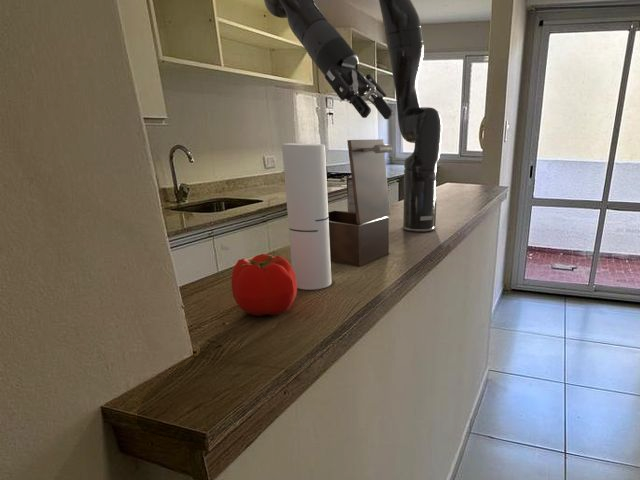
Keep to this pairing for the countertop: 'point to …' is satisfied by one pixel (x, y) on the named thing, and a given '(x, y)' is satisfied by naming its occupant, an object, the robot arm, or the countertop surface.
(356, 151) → the lid
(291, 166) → the cylindrical container
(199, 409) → the countertop surface
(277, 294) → the tomato
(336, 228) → the chest
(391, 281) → the countertop surface
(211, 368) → the countertop surface
